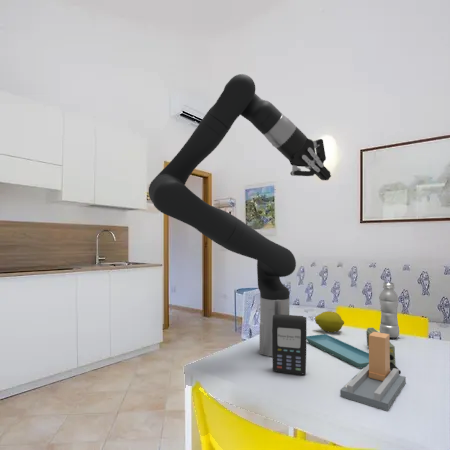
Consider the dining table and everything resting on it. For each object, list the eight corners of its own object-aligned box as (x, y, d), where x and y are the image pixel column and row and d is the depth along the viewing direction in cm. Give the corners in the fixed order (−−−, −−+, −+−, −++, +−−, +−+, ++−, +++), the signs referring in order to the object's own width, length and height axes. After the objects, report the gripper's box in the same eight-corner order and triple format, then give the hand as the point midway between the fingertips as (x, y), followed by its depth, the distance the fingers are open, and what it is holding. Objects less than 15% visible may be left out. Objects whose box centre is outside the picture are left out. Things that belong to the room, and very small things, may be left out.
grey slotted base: (387, 411, 69) (387, 396, 70) (340, 396, 76) (340, 383, 76) (405, 383, 83) (405, 370, 84) (364, 372, 90) (364, 361, 90)
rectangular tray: (384, 367, 95) (384, 358, 95) (359, 371, 92) (359, 362, 92) (325, 340, 120) (325, 333, 120) (304, 343, 116) (304, 336, 116)
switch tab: (385, 381, 80) (384, 338, 81) (368, 377, 82) (368, 335, 83) (390, 375, 84) (389, 334, 84) (374, 371, 86) (374, 331, 87)
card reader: (270, 372, 89) (271, 316, 90) (272, 367, 93) (273, 313, 94) (306, 376, 87) (306, 318, 87) (306, 371, 90) (306, 315, 91)
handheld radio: (376, 347, 112) (405, 377, 87) (366, 347, 113) (392, 377, 88) (375, 327, 112) (404, 351, 88) (365, 327, 113) (391, 351, 88)
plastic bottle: (403, 340, 120) (402, 284, 121) (384, 339, 120) (383, 284, 121) (394, 335, 126) (393, 282, 127) (376, 334, 126) (375, 282, 127)
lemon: (344, 331, 131) (344, 310, 132) (344, 336, 124) (344, 314, 124) (316, 328, 135) (316, 308, 135) (314, 333, 128) (314, 312, 128)
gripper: (275, 153, 84) (321, 197, 88) (306, 114, 85) (350, 158, 89) (264, 156, 91) (307, 196, 96) (293, 119, 92) (334, 161, 97)
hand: (328, 178), depth 92 cm, fingers closed
